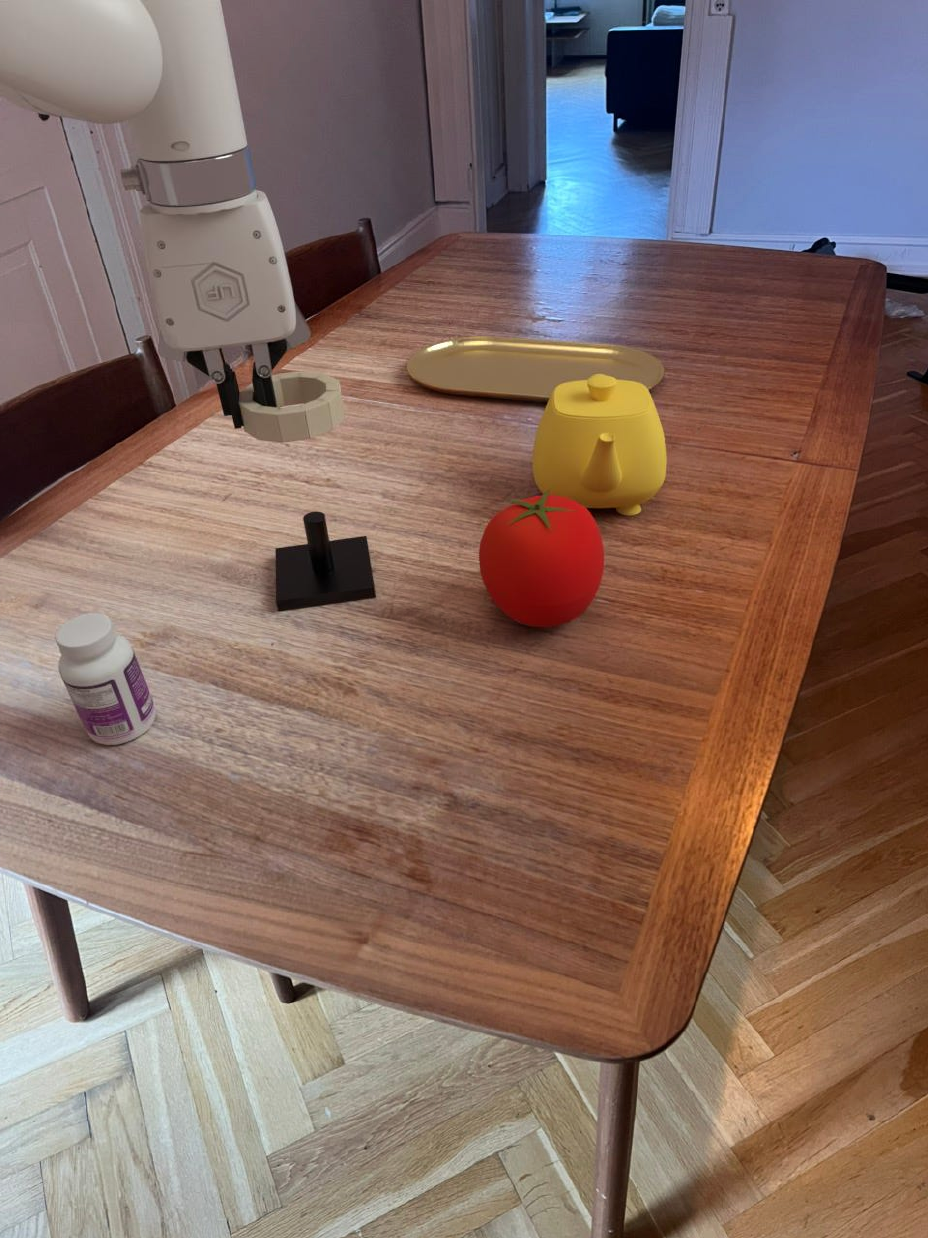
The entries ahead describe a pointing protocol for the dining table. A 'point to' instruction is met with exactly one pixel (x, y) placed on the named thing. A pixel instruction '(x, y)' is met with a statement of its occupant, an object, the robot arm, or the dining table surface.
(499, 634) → the dining table surface
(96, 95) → the robot arm
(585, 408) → the teapot
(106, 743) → the pill bottle
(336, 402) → the tape roll
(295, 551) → the peg stand
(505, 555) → the tomato
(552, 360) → the serving platter
